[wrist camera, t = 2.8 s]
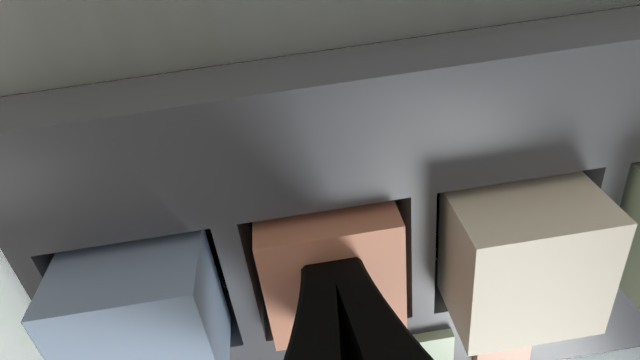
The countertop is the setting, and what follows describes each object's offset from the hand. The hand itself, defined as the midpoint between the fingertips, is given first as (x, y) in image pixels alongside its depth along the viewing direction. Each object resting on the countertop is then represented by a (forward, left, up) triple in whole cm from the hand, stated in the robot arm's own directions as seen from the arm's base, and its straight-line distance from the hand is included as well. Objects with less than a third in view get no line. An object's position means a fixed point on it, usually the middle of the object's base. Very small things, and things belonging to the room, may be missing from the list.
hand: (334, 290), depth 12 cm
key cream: (-5, 0, -1) cm, 5 cm away
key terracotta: (0, 0, -2) cm, 2 cm away
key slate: (+5, 0, -1) cm, 5 cm away
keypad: (-2, 0, -2) cm, 3 cm away
